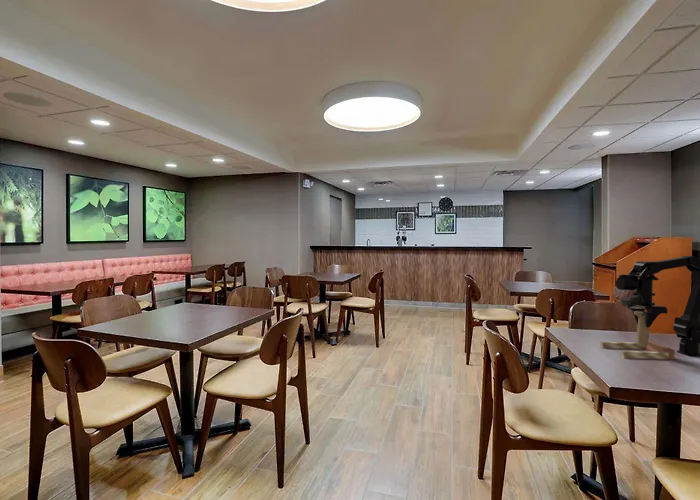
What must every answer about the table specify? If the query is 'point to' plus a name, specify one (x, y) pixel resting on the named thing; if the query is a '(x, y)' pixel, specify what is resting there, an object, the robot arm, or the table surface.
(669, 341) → the table surface
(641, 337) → the handle
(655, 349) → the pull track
